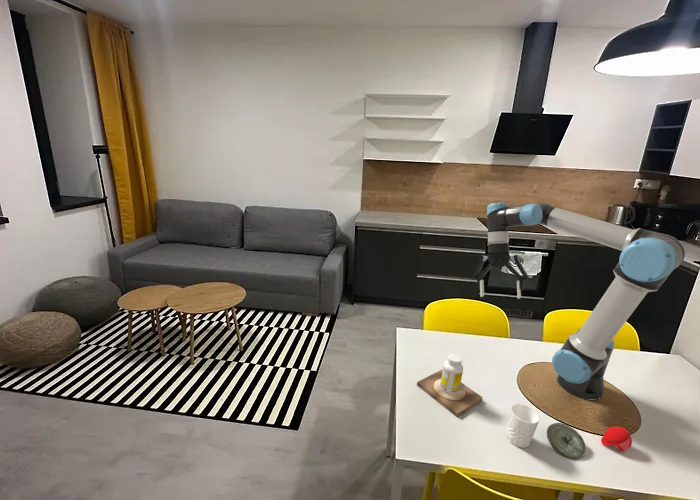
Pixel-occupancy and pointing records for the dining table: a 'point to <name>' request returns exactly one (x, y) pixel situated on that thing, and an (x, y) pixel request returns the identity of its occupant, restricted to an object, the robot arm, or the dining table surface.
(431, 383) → the walnut board
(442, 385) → the supplement bottle
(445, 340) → the dining table surface
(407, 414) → the dining table surface
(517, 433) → the white cup
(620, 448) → the cap
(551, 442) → the lid
